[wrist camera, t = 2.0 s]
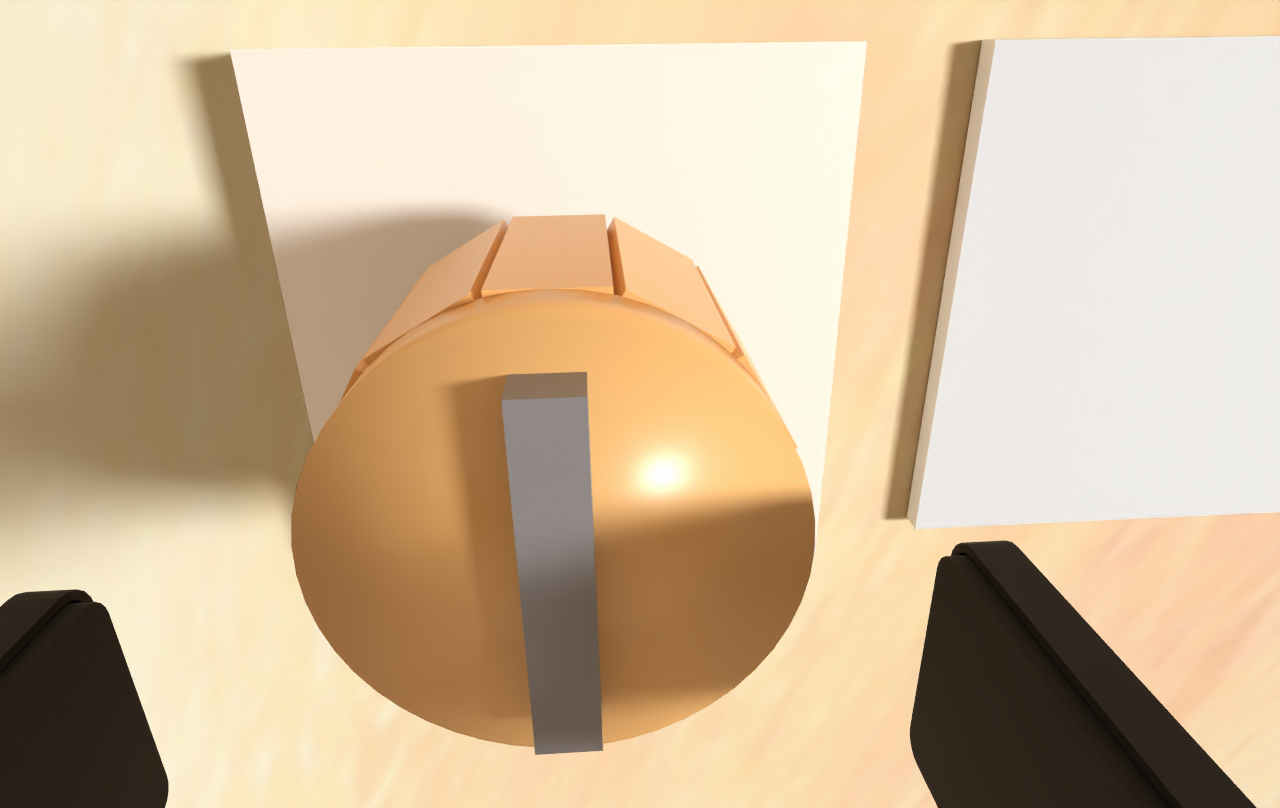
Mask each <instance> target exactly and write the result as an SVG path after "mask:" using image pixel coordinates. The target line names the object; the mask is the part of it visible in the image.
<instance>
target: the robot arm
mask: <svg viewBox="0 0 1280 808" xmlns="http://www.w3.org/2000/svg"><path fill="white" fill-rule="evenodd" d="M910 741H911V747H912V751H913V755H914V758H915V760H916V763H917V765H918V767H919V769H920V771H921V773H922V775H923V778H924V780H925V782H926V784H927V786H928V788H929V790H930V792H931V794H932V796H933V798H934V800H935V802H936V804H937V806H938V808H1256V807H1255V805H1254V804H1253V803H1252V802H1251V801H1250V800H1249V799H1248V798H1247V797H1246V796H1245V795H1244V793H1243V792H1242V791H1241V790H1240V789H1239V788H1238V787H1237V786H1236V785H1235V784H1234V783H1233V781H1232V780H1231V779H1230V778H1229V777H1228V776H1227V775H1226V774H1225V773H1224V772H1223V771H1222V769H1221V768H1220V767H1219V766H1218V765H1217V764H1216V763H1215V762H1214V761H1213V760H1212V759H1211V757H1210V756H1209V755H1208V754H1207V753H1206V752H1205V751H1204V750H1203V749H1202V748H1201V747H1200V745H1199V744H1198V743H1197V742H1196V741H1195V740H1194V739H1193V738H1192V737H1191V736H1190V735H1189V733H1188V732H1187V731H1186V730H1185V729H1184V728H1183V727H1182V726H1181V725H1180V724H1179V722H1178V721H1177V720H1176V719H1175V718H1174V717H1173V716H1172V715H1171V714H1170V713H1169V712H1168V710H1167V709H1166V708H1165V707H1164V706H1163V705H1162V704H1161V703H1160V702H1159V701H1158V700H1157V698H1156V697H1155V696H1154V695H1153V694H1152V693H1151V692H1150V691H1149V690H1148V689H1147V688H1146V686H1145V685H1144V684H1143V683H1142V682H1141V681H1140V680H1139V679H1138V678H1137V677H1136V676H1135V674H1134V673H1133V672H1132V671H1131V670H1130V669H1129V668H1128V667H1127V666H1126V665H1125V664H1124V662H1123V661H1122V660H1121V659H1120V658H1119V657H1118V656H1117V655H1116V654H1115V653H1114V652H1113V650H1112V649H1111V648H1110V647H1109V646H1108V645H1107V644H1106V643H1105V642H1104V641H1103V640H1102V638H1101V637H1100V636H1099V635H1098V634H1097V633H1096V632H1095V631H1094V630H1093V629H1092V627H1091V626H1090V625H1089V624H1088V623H1087V622H1086V621H1085V620H1084V619H1083V618H1082V617H1081V615H1080V614H1079V613H1078V612H1077V611H1076V610H1075V609H1074V608H1073V607H1072V606H1071V605H1070V603H1069V602H1068V601H1067V600H1066V599H1065V598H1064V597H1063V596H1062V595H1061V594H1060V593H1059V591H1058V590H1057V589H1056V588H1055V587H1054V586H1053V585H1052V584H1051V583H1050V582H1049V581H1048V579H1047V578H1046V577H1045V576H1044V575H1043V574H1042V573H1041V572H1040V571H1039V570H1038V569H1037V567H1036V566H1035V565H1034V564H1033V563H1032V562H1031V561H1030V560H1029V559H1028V558H1027V557H1026V555H1025V554H1024V553H1023V552H1022V551H1021V550H1020V549H1019V548H1018V547H1017V546H1016V545H1015V544H1013V543H1012V542H1009V541H988V542H969V543H960V544H958V545H956V546H955V548H954V549H953V551H952V554H951V556H945V557H943V558H941V560H940V561H939V563H938V567H937V572H936V578H935V584H934V590H933V596H932V602H931V608H930V613H929V619H928V625H927V631H926V637H925V643H924V649H923V655H922V661H921V667H920V672H919V678H918V684H917V690H916V696H915V702H914V708H913V714H912V720H911V726H910ZM167 797H168V779H167V775H166V772H165V769H164V767H163V764H162V761H161V758H160V755H159V753H158V750H157V747H156V744H155V741H154V739H153V736H152V733H151V730H150V727H149V725H148V722H147V719H146V716H145V713H144V711H143V708H142V705H141V702H140V699H139V696H138V694H137V691H136V688H135V685H134V682H133V680H132V677H131V674H130V671H129V668H128V666H127V663H126V660H125V657H124V654H123V652H122V649H121V646H120V643H119V640H118V638H117V635H116V632H115V629H114V626H113V624H112V621H111V618H110V615H109V613H108V611H107V609H106V607H105V606H104V605H102V604H101V603H97V602H93V600H92V598H91V596H89V595H88V594H87V593H86V592H85V591H81V590H58V591H39V592H24V593H20V594H16V595H15V596H13V597H12V598H10V599H9V600H7V601H6V602H5V603H4V604H3V605H2V606H1V607H0V808H165V805H166V802H167Z"/></svg>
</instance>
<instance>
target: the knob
mask: <svg viewBox="0 0 1280 808" xmlns="http://www.w3.org/2000/svg"><path fill="white" fill-rule="evenodd" d="M797 448H798V447H797V445H796V444H795V442H794V440H793V438H792V436H791V434H790V432H789V430H788V428H787V427H786V425H785V423H784V421H783V419H782V417H781V415H780V413H779V411H778V410H777V408H776V406H775V404H774V402H773V400H772V398H771V396H770V394H769V393H768V391H767V389H766V387H765V385H764V383H763V381H762V379H761V377H760V376H759V374H758V372H757V370H756V368H755V366H754V364H753V362H752V361H751V359H750V357H749V355H748V353H747V351H746V349H745V347H744V345H743V344H742V342H741V340H740V338H739V336H738V334H737V333H736V331H735V329H734V327H733V326H732V324H731V322H730V320H729V319H728V317H727V315H726V313H725V312H724V310H723V308H722V306H721V305H720V303H719V301H718V299H717V298H716V296H715V294H714V292H713V291H712V289H711V287H710V285H709V284H708V282H707V280H706V278H705V277H704V275H703V273H702V271H701V270H700V268H699V266H696V267H695V265H694V263H693V261H692V259H690V258H689V257H687V256H685V255H683V254H681V253H679V252H678V251H676V250H674V249H672V248H670V247H669V246H667V245H665V244H663V243H661V242H659V241H658V240H656V239H654V238H652V237H650V236H649V235H647V234H645V233H643V232H641V231H639V230H638V229H636V228H634V227H632V226H630V225H629V224H627V223H625V222H623V221H621V220H619V219H618V218H616V217H614V218H613V219H612V221H611V223H610V225H609V227H608V229H607V227H606V219H605V214H597V215H556V216H515V217H513V218H512V220H511V222H510V225H509V226H508V224H507V223H506V221H505V220H502V221H500V222H499V223H497V224H496V225H494V226H493V227H491V228H489V229H488V230H486V231H485V232H483V233H481V234H480V235H478V236H477V237H475V238H474V239H472V240H470V241H469V242H467V243H466V244H464V245H463V246H461V247H459V248H458V249H456V250H455V251H453V252H451V253H450V254H448V255H447V256H445V257H444V258H442V259H440V260H439V261H437V262H436V263H434V264H433V265H431V266H429V268H428V269H427V270H426V272H425V273H423V274H422V276H421V277H420V279H419V280H418V281H417V283H416V284H415V286H414V287H413V288H412V290H411V291H410V293H409V294H408V295H407V297H406V298H405V299H404V301H403V302H402V304H401V305H400V306H399V308H398V309H397V311H396V312H395V313H394V315H393V316H392V318H391V319H390V320H389V322H388V323H387V324H386V326H385V327H384V329H383V330H382V331H381V333H380V334H379V336H378V337H377V338H376V340H375V341H374V343H373V344H372V345H371V347H370V348H369V349H368V351H367V352H366V354H365V355H364V356H363V358H362V359H361V361H360V362H359V363H358V365H357V366H356V368H355V369H354V371H353V374H352V376H351V378H350V380H349V383H348V385H347V387H346V389H345V392H344V394H343V396H342V398H341V401H340V403H339V405H338V406H337V408H336V409H335V410H334V412H333V413H332V415H331V416H330V418H329V419H328V421H327V422H326V423H325V425H324V426H323V428H322V429H321V431H320V433H319V435H318V437H317V439H316V441H315V442H314V444H313V446H312V448H311V450H310V452H309V454H308V455H307V457H306V460H305V463H304V466H303V469H302V472H301V475H300V478H299V481H298V483H297V487H296V493H295V498H294V504H293V510H292V551H293V558H294V564H295V570H296V575H297V578H298V581H299V584H300V587H301V590H302V593H303V596H304V599H305V602H306V604H307V606H308V608H309V610H310V612H311V614H312V616H313V618H314V620H315V622H316V624H317V626H318V628H319V629H320V630H321V632H322V633H323V635H324V636H325V638H326V639H327V641H328V642H329V643H330V645H331V646H332V648H333V649H334V651H335V652H336V653H337V654H338V655H339V656H340V657H341V658H342V659H343V660H344V662H345V663H346V664H347V665H348V666H349V667H350V668H351V669H352V670H353V671H354V672H355V673H356V674H357V675H358V676H359V677H360V678H362V679H363V680H364V681H365V682H366V683H367V684H369V685H370V686H371V687H372V688H373V689H374V690H376V691H377V692H378V693H380V694H381V695H383V696H384V697H386V698H387V699H389V700H390V701H392V702H393V703H395V704H396V705H398V706H399V707H401V708H403V709H405V710H407V711H409V712H411V713H412V714H414V715H416V716H418V717H420V718H422V719H424V720H426V721H428V722H431V723H433V724H436V725H438V726H441V727H443V728H446V729H448V730H451V731H454V732H457V733H460V734H464V735H467V736H471V737H474V738H478V739H482V740H486V741H492V742H497V743H503V744H509V745H516V746H528V747H535V755H538V754H554V753H571V752H587V751H603V744H605V743H610V742H615V741H619V740H624V739H629V738H633V737H636V736H639V735H643V734H646V733H649V732H652V731H656V730H659V729H661V728H664V727H666V726H668V725H671V724H673V723H676V722H678V721H680V720H683V719H685V718H687V717H689V716H691V715H692V714H694V713H696V712H698V711H700V710H702V709H703V708H705V707H707V706H709V705H711V704H712V703H714V702H715V701H716V700H718V699H719V698H721V697H722V696H724V695H725V694H726V693H728V692H729V691H731V690H732V689H734V688H735V687H736V686H737V685H738V684H739V683H740V682H742V681H743V680H744V679H745V678H746V677H747V676H748V675H749V674H751V673H752V672H753V671H754V670H755V669H756V668H757V667H758V666H759V665H760V663H761V662H762V661H763V660H764V659H765V658H766V657H767V656H768V654H769V653H770V652H771V651H772V650H773V649H774V647H775V646H776V644H777V643H778V641H779V640H780V639H781V637H782V636H783V634H784V633H785V631H786V630H787V628H788V627H789V625H790V623H791V621H792V619H793V617H794V615H795V613H796V611H797V609H798V607H799V605H800V603H801V601H802V598H803V595H804V592H805V589H806V586H807V583H808V580H809V577H810V573H811V567H812V561H813V556H814V550H815V515H814V507H813V500H812V493H811V489H810V486H809V483H808V479H807V476H806V473H805V469H804V466H803V464H802V461H801V459H800V457H799V455H798V453H797V451H796V449H797Z"/></svg>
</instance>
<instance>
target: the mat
mask: <svg viewBox="0 0 1280 808" xmlns="http://www.w3.org/2000/svg"><path fill="white" fill-rule="evenodd" d="M1268 512H1280V36H1255V37H1175V38H1095V39H1016V40H982V44H981V51H980V57H979V63H978V70H977V76H976V82H975V89H974V95H973V101H972V108H971V114H970V120H969V126H968V133H967V139H966V145H965V152H964V158H963V164H962V171H961V177H960V183H959V190H958V196H957V202H956V209H955V215H954V221H953V228H952V234H951V240H950V247H949V253H948V259H947V266H946V272H945V278H944V285H943V291H942V297H941V303H940V310H939V316H938V322H937V329H936V335H935V341H934V348H933V354H932V360H931V367H930V373H929V379H928V386H927V392H926V398H925V405H924V411H923V417H922V424H921V430H920V436H919V443H918V449H917V455H916V461H915V468H914V474H913V480H912V487H911V493H910V499H909V506H908V512H907V518H908V519H909V521H910V522H911V524H912V525H913V527H914V528H915V529H927V528H948V527H969V526H991V525H1012V524H1033V523H1055V522H1076V521H1097V520H1119V519H1140V518H1161V517H1183V516H1204V515H1225V514H1247V513H1268Z"/></svg>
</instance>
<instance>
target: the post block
mask: <svg viewBox="0 0 1280 808" xmlns="http://www.w3.org/2000/svg"><path fill="white" fill-rule="evenodd" d="M866 47H867V41H844V42H764V43H684V44H605V45H525V46H445V47H366V48H286V49H230V53H231V58H232V63H233V67H234V72H235V77H236V81H237V86H238V91H239V95H240V100H241V105H242V109H243V114H244V119H245V123H246V128H247V133H248V137H249V142H250V147H251V151H252V156H253V161H254V165H255V170H256V175H257V180H258V184H259V189H260V194H261V198H262V203H263V208H264V212H265V217H266V222H267V226H268V231H269V236H270V240H271V245H272V250H273V254H274V259H275V264H276V268H277V273H278V278H279V282H280V287H281V292H282V296H283V301H284V306H285V311H286V315H287V320H288V325H289V329H290V334H291V339H292V343H293V348H294V353H295V357H296V362H297V367H298V371H299V376H300V381H301V385H302V390H303V395H304V399H305V404H306V409H307V413H308V418H309V423H310V427H311V432H312V437H313V442H315V441H316V439H317V437H318V435H319V433H320V431H321V429H322V428H323V426H324V425H325V423H326V422H327V421H328V419H329V418H330V416H331V415H332V413H333V412H334V410H335V409H336V408H337V406H338V405H339V403H340V401H341V398H342V396H343V394H344V392H345V389H346V387H347V385H348V383H349V380H350V378H351V376H352V374H353V371H354V369H355V368H356V366H357V365H358V363H359V362H360V361H361V359H362V358H363V356H364V355H365V354H366V352H367V351H368V349H369V348H370V347H371V345H372V344H373V343H374V341H375V340H376V338H377V337H378V336H379V334H380V333H381V331H382V330H383V329H384V327H385V326H386V324H387V323H388V322H389V320H390V319H391V318H392V316H393V315H394V313H395V312H396V311H397V309H398V308H399V306H400V305H401V304H402V302H403V301H404V299H405V298H406V297H407V295H408V294H409V293H410V291H411V290H412V288H413V287H414V286H415V284H416V283H417V281H418V280H419V279H420V277H421V276H422V274H423V273H425V272H426V270H427V269H428V268H429V266H431V265H433V264H434V263H436V262H437V261H439V260H440V259H442V258H444V257H445V256H447V255H448V254H450V253H451V252H453V251H455V250H456V249H458V248H459V247H461V246H463V245H464V244H466V243H467V242H469V241H470V240H472V239H474V238H475V237H477V236H478V235H480V234H481V233H483V232H485V231H486V230H488V229H489V228H491V227H493V226H494V225H496V224H497V223H499V222H500V221H502V220H505V221H506V223H507V224H508V226H509V225H510V222H511V220H512V218H513V217H515V216H556V215H597V214H605V219H606V227H607V229H608V227H609V225H610V223H611V221H612V219H613V218H614V217H616V218H618V219H619V220H621V221H623V222H625V223H627V224H629V225H630V226H632V227H634V228H636V229H638V230H639V231H641V232H643V233H645V234H647V235H649V236H650V237H652V238H654V239H656V240H658V241H659V242H661V243H663V244H665V245H667V246H669V247H670V248H672V249H674V250H676V251H678V252H679V253H681V254H683V255H685V256H687V257H689V258H690V259H692V261H693V263H694V265H695V267H696V266H699V268H700V270H701V271H702V273H703V275H704V277H705V278H706V280H707V282H708V284H709V285H710V287H711V289H712V291H713V292H714V294H715V296H716V298H717V299H718V301H719V303H720V305H721V306H722V308H723V310H724V312H725V313H726V315H727V317H728V319H729V320H730V322H731V324H732V326H733V327H734V329H735V331H736V333H737V334H738V336H739V338H740V340H741V342H742V344H743V345H744V347H745V349H746V351H747V353H748V355H749V357H750V359H751V361H752V362H753V364H754V366H755V368H756V370H757V372H758V374H759V376H760V377H761V379H762V381H763V383H764V385H765V387H766V389H767V391H768V393H769V394H770V396H771V398H772V400H773V402H774V404H775V406H776V408H777V410H778V411H779V413H780V415H781V417H782V419H783V421H784V423H785V425H786V427H787V428H788V430H789V432H790V434H791V436H792V438H793V440H794V442H795V444H796V445H797V447H798V448H797V449H796V451H797V453H798V455H799V457H800V459H801V461H802V464H803V466H804V469H805V473H806V476H807V479H808V483H809V486H810V489H811V493H812V500H813V507H814V515H815V549H816V539H817V529H818V519H819V510H820V500H821V490H822V480H823V470H824V460H825V451H826V441H827V431H828V421H829V411H830V401H831V391H832V382H833V372H834V362H835V352H836V342H837V332H838V322H839V313H840V303H841V293H842V283H843V273H844V263H845V253H846V244H847V234H848V224H849V214H850V204H851V194H852V185H853V175H854V165H855V155H856V145H857V135H858V125H859V116H860V106H861V96H862V86H863V76H864V66H865V56H866ZM814 554H815V550H814Z"/></svg>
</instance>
